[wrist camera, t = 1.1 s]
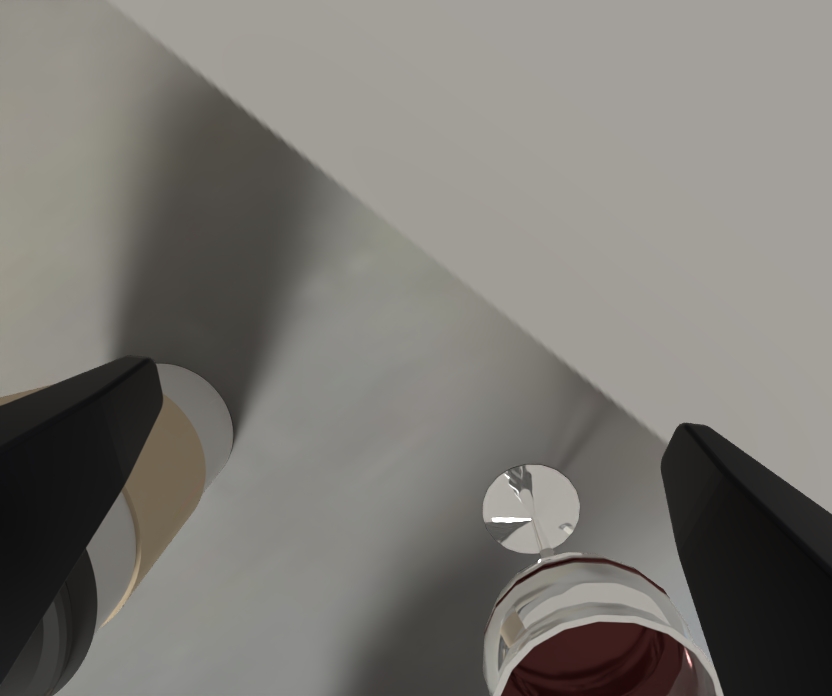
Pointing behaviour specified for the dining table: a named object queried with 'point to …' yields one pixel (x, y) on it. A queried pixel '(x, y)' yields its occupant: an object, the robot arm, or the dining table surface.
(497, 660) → the wineglass
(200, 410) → the coffee cup
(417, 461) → the dining table surface
